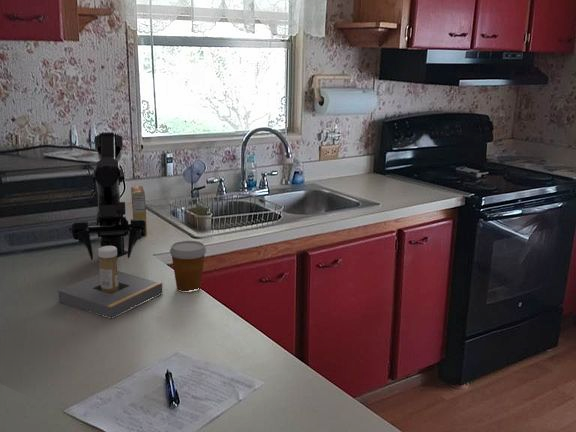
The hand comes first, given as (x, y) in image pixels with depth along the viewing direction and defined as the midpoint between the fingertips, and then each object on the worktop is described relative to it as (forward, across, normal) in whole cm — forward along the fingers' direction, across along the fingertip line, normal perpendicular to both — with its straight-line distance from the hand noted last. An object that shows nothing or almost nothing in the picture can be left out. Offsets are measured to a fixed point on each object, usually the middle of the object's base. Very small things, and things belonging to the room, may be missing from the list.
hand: (110, 258), depth 158 cm
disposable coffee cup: (+8, +20, +4) cm, 22 cm away
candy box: (-28, +8, +42) cm, 51 cm away
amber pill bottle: (+10, 0, +2) cm, 10 cm away
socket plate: (+10, 0, +2) cm, 10 cm away
